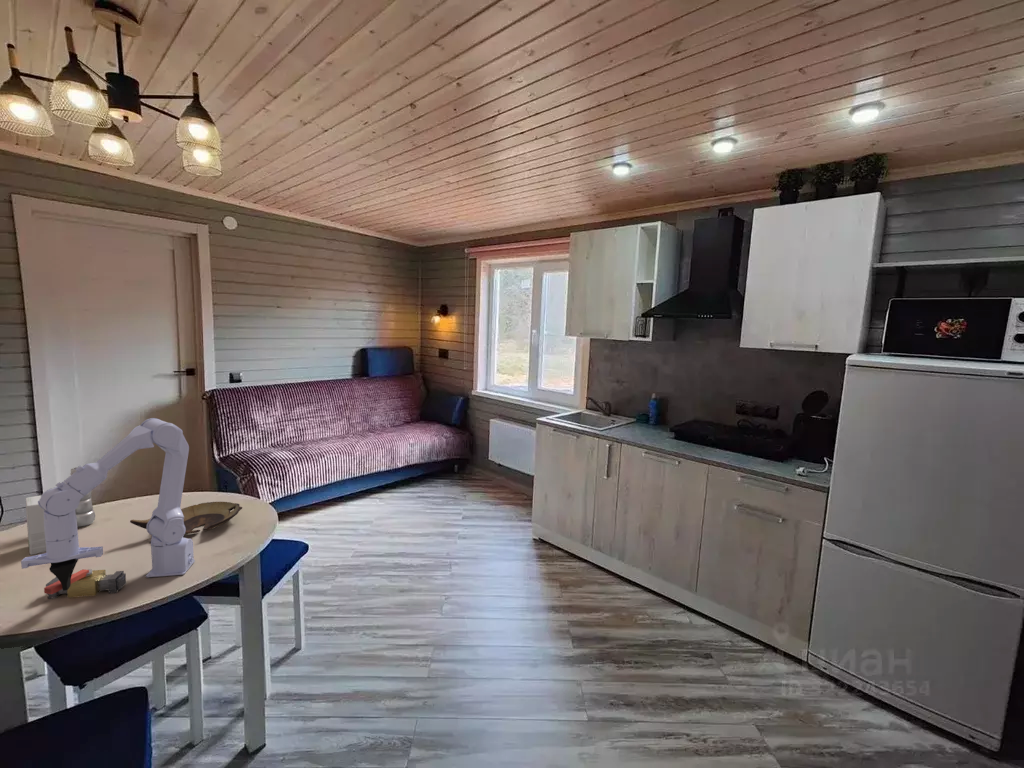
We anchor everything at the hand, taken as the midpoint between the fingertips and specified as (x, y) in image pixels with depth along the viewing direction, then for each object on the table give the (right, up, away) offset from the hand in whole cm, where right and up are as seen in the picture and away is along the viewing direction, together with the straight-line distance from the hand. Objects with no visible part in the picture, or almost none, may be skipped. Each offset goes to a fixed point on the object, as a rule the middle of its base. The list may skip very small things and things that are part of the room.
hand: (66, 588), depth 115 cm
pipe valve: (-1, -4, +7) cm, 8 cm away
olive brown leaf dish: (0, +1, +45) cm, 45 cm away
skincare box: (-33, 0, +27) cm, 43 cm away
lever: (-2, 0, +3) cm, 3 cm away
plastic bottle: (-36, +2, +43) cm, 56 cm away
